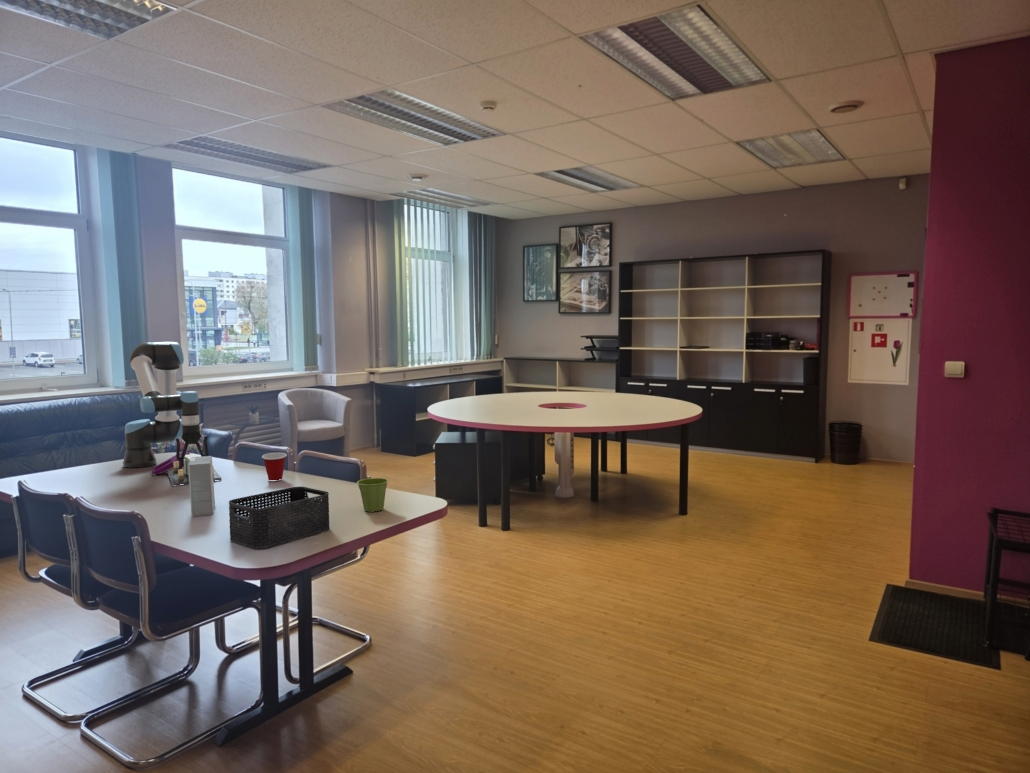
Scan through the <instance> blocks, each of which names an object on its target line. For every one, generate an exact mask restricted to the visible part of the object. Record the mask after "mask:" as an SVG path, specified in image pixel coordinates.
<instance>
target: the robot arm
mask: <svg viewBox="0 0 1030 773" xmlns="http://www.w3.org/2000/svg"><path fill="white" fill-rule="evenodd" d="M184 360H185V358H184V353H183V348H182V347H181V344H180V343H178V342H175V341H157V342H156V341H155V342H153V341H150V342H149V341H147V342H142V343H140V344H138V345H137V346H135V347H134V349H132V351H131V352H130V356H129V364H130V367H131V370H133V371H134V373H135V376H136V379H137V382H138V386H139V388H140V392H141V394H142V397H141V398H140V399H139V406H140V411H141V412H142V413H144V414H147V413H150V414H152V413H158V414H157V415H156V416H154V421H151V419H149V418H144V419H139V420H138V419H137V420H133V421H130V422H127V423H126V424H125V426H124V438H125V454H124V458H123V461H122V467H123V468H125V467H128V468H127V469H133V468H132V467H139V468H145V467H144V466H147V467H150V466H149V465H152V466H154V465H153V464H155V465H156V464H157V458H156V456H155V453H154V451H153V448H152V446H153V444H162V443H172V442H173V443H174V442H176V448H175V449H176V450H175V451H176V453H175V455H176V458H177V459H179V460H181V467H184V474H186V460H185V459H184V457H185V454H186V451H187V450H188V447H189V445H191V444H192V445H196V448H197V450H198V452H199V455H200V457H203V456H210V454H209V448H208V442H207V441H208V436H207V435H206V434H204V435H203V434H201V427H200V426H201V425H200V409H199V406H200V405H199V404H200V403H199V402H200V401H199V400H200V399H199V393H198V392H197V391H196V390H189V391H181V392H180V393H179V394H177V371H178V370H180V366H181V365H183V364H184ZM152 366H153V367H154V369H155V370H156V371H157V378H156V376H155V373H154V370H153V367H152ZM178 411H181V412H180V413H181V415H178V414H177V412H178ZM180 416H181V418H180ZM182 440H183V442H184V446H183V449H182V450H180V449H181V442H182ZM200 440H202V442H203V448H204V452H203V450H202V447H201V445H200V443H199V441H200ZM180 452H182V455H181V457H179V456H180Z"/></svg>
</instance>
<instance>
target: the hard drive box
mask: <svg viewBox="0 0 1030 773" xmlns="http://www.w3.org/2000/svg"><path fill="white" fill-rule="evenodd" d="M212 466H213V457H212V455H209V456H203V457H201V456H199V457H192V458H191V459H190V462H189V464H188V471H189V485H188V486H189V498H190V499H189V500H190V501H189V503H190V515H191V518H194V517H204V516H212V515H213V514H214V511H215V505H216V500H215V499H216V498H215V487H214V486H215V484H214V482H215V481H214V482H213V467H214V466H213V467H212Z"/></svg>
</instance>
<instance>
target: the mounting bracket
mask: <svg viewBox="0 0 1030 773" xmlns="http://www.w3.org/2000/svg"><path fill="white" fill-rule="evenodd" d="M189 454H191V453H190V452H188V451H187V450H186V454H185V455H189ZM181 455H182V451H180V456H179V457H181ZM174 461H179V469H182V467H181V460H179V459H177V458H176V454H175V455H174V456H173V455H172V456H171V457H170V458H168V459H167V460H164V461H163V462H161V463H159V464H157V465H155V466H154V467H152V469H150V471H151V474H152V475H153V474H158V475H161V474H163V473H164V472H167V471H168V470H169V469H171V468H174V467H173V462H174Z"/></svg>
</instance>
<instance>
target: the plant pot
mask: <svg viewBox="0 0 1030 773" xmlns="http://www.w3.org/2000/svg"><path fill="white" fill-rule="evenodd" d="M388 482H389V479H387V478H383V477H372V478H363V479H359V480H358V481H357V482H356V484H357V485H358V488H359V491H360V496H361V500H362V505H363V510H365V512H366V511H370V512H369V513H374V512H373V511H376V512H381V511H380V510H382V511H383V510H384V508H385V507H384V506H385V501H386V500H385V498H386V492H387V488H388Z"/></svg>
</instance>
